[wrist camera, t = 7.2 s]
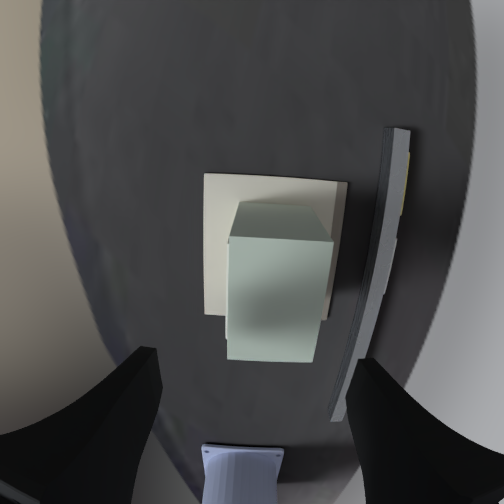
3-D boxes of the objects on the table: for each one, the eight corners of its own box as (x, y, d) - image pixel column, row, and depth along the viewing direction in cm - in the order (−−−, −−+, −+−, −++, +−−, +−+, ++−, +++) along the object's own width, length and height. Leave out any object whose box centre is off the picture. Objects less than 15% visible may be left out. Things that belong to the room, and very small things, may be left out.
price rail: (340, 408, 24) (343, 421, 22) (327, 408, 24) (330, 421, 22) (401, 130, 16) (412, 131, 14) (384, 127, 16) (394, 127, 14)
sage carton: (313, 206, 17) (337, 242, 12) (301, 299, 20) (315, 362, 14) (236, 201, 17) (225, 236, 12) (233, 296, 20) (224, 359, 14)
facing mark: (325, 318, 20) (326, 320, 20) (205, 312, 20) (204, 314, 20) (346, 182, 17) (347, 183, 17) (204, 173, 17) (204, 173, 17)
